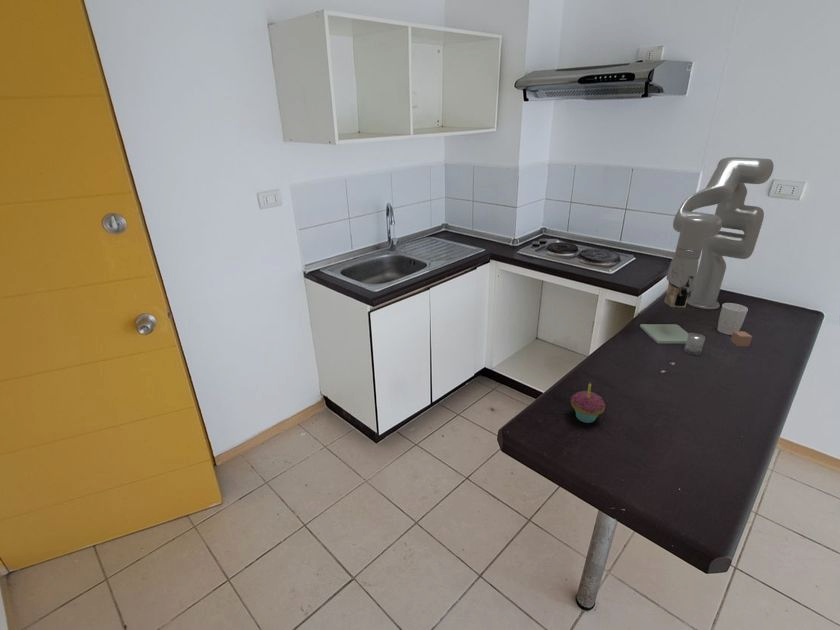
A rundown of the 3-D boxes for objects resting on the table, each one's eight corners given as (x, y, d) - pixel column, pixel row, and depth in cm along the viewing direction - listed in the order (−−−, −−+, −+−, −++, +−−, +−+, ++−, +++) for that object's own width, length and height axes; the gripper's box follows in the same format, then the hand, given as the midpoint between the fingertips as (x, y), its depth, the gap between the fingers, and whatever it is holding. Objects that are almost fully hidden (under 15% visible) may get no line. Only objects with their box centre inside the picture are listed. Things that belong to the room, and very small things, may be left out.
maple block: (664, 301, 160) (668, 283, 157) (677, 302, 160) (682, 283, 157) (671, 307, 155) (676, 288, 153) (685, 307, 155) (690, 288, 153)
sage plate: (639, 326, 169) (640, 324, 169) (676, 326, 169) (677, 324, 169) (657, 343, 156) (658, 340, 156) (697, 343, 156) (697, 341, 156)
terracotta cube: (730, 341, 158) (733, 331, 156) (741, 341, 158) (744, 331, 156) (737, 346, 154) (740, 336, 153) (748, 346, 154) (752, 336, 153)
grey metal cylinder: (681, 348, 153) (685, 332, 151) (695, 348, 153) (699, 332, 151) (689, 355, 149) (693, 339, 146) (703, 355, 149) (708, 339, 146)
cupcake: (598, 431, 112) (606, 391, 107) (564, 420, 116) (570, 381, 111) (605, 414, 119) (613, 375, 114) (573, 404, 123) (579, 366, 118)
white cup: (717, 334, 163) (724, 309, 159) (713, 325, 170) (720, 301, 166) (742, 337, 161) (750, 312, 157) (737, 329, 167) (745, 304, 163)
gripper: (664, 246, 158) (653, 294, 165) (690, 260, 142) (677, 312, 150) (685, 247, 158) (673, 294, 165) (713, 260, 142) (699, 312, 150)
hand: (675, 302), depth 157 cm, fingers closed on maple block, 4 cm apart
